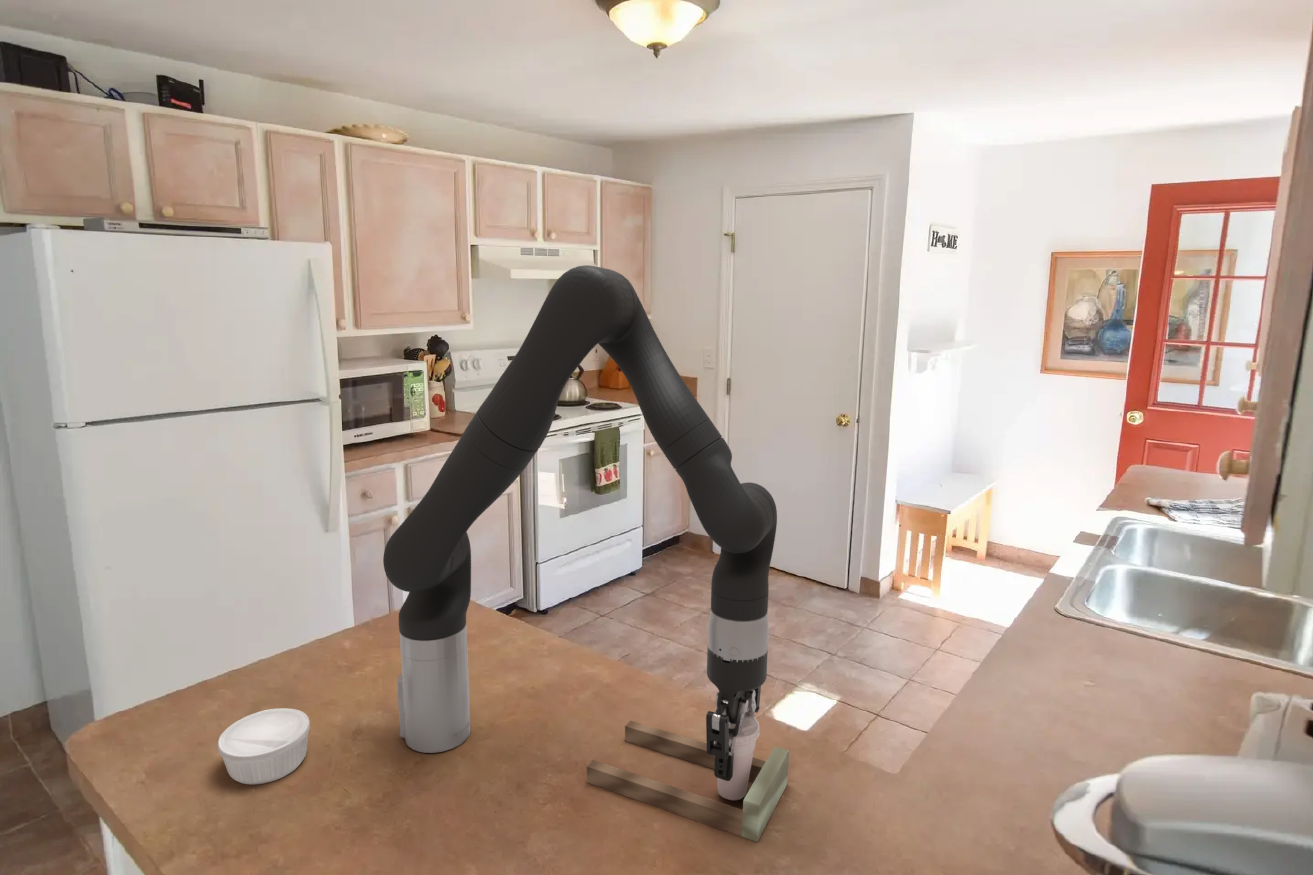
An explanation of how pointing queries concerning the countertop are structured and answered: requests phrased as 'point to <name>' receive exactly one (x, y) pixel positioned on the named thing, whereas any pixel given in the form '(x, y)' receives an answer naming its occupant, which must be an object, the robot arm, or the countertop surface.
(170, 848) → the countertop surface
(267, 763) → the ramekin
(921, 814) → the countertop surface
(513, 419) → the robot arm
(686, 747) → the guide channel
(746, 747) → the smoothie
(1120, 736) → the countertop surface
